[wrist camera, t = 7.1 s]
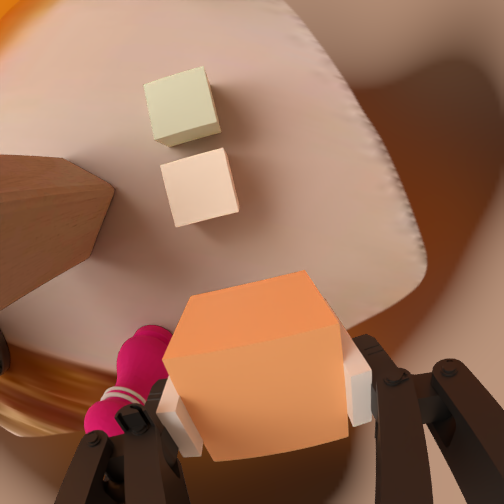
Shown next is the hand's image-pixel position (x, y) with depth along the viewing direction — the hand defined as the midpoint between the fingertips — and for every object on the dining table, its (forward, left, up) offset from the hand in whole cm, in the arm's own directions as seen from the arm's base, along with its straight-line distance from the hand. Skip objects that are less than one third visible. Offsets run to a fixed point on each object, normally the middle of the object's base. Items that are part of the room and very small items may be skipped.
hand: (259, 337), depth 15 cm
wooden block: (-20, +11, -19) cm, 30 cm away
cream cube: (-3, +8, -19) cm, 21 cm away
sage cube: (-3, +17, -19) cm, 26 cm away
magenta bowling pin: (-15, -9, -19) cm, 26 cm away
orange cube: (0, 0, 0) cm, 0 cm away
